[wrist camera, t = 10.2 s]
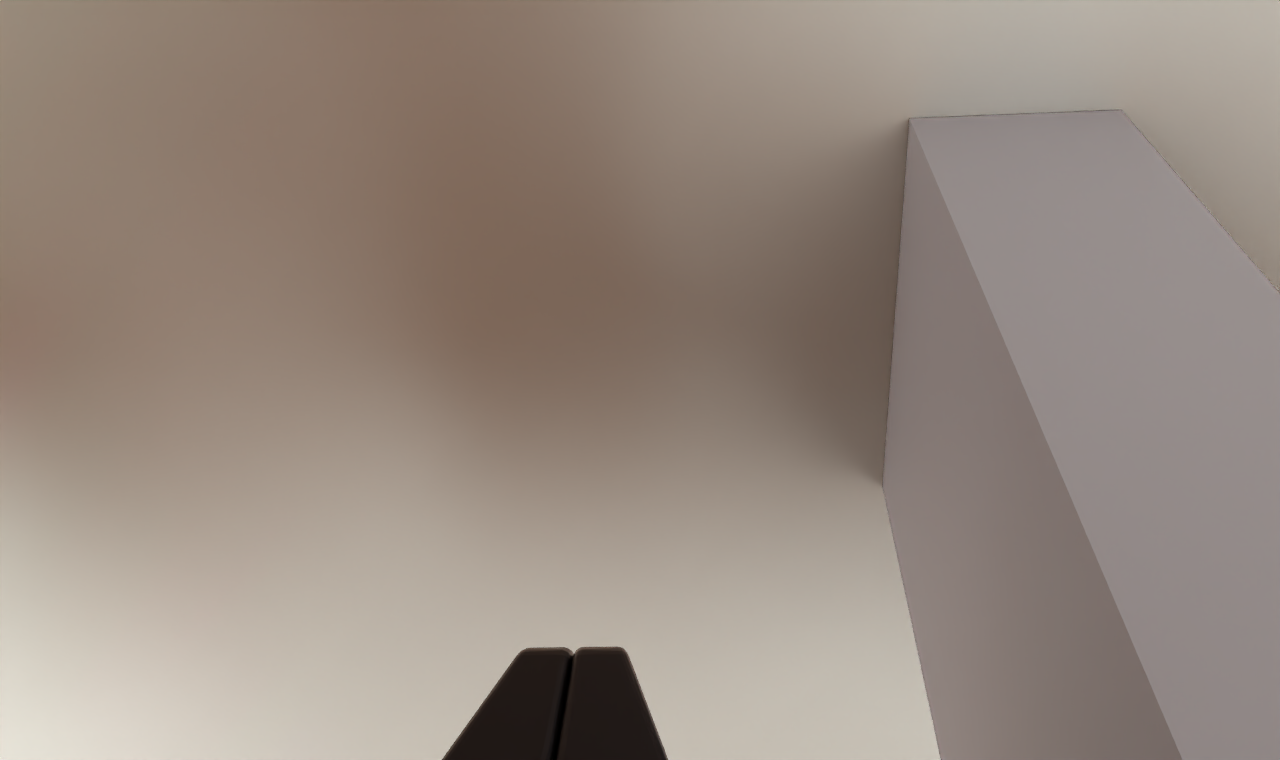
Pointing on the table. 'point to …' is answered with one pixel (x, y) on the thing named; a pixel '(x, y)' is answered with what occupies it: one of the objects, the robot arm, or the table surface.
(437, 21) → the table surface
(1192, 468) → the slate domino
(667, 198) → the table surface
